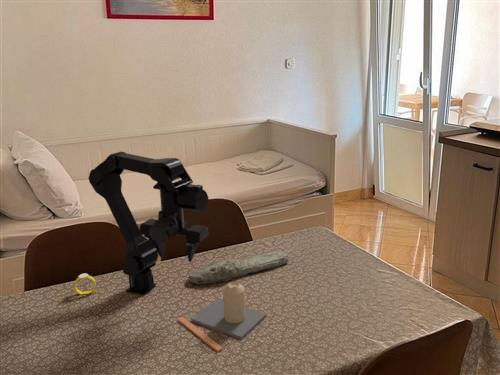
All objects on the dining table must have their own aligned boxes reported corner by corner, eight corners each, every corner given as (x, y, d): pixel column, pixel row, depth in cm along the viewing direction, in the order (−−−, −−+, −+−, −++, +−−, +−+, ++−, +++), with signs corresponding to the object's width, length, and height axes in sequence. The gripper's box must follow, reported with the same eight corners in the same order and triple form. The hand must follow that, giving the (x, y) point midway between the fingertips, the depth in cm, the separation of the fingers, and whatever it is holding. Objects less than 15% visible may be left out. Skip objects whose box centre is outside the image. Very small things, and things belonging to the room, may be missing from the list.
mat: (191, 321, 126) (190, 318, 126) (217, 300, 136) (217, 298, 135) (241, 339, 118) (241, 336, 117) (266, 316, 127) (266, 314, 127)
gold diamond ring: (75, 297, 140) (71, 279, 138) (76, 293, 142) (72, 275, 140) (97, 293, 141) (93, 275, 139) (97, 289, 143) (93, 271, 142)
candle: (248, 321, 124) (247, 287, 121) (227, 325, 122) (226, 290, 119) (241, 310, 129) (240, 277, 126) (221, 314, 127) (220, 281, 124)
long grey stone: (295, 269, 157) (279, 259, 166) (295, 254, 156) (280, 245, 165) (195, 290, 141) (184, 278, 150) (195, 273, 140) (183, 262, 149)
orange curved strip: (177, 320, 126) (177, 318, 126) (182, 318, 127) (182, 316, 127) (217, 352, 113) (217, 350, 113) (222, 349, 114) (222, 347, 114)
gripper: (124, 211, 124) (130, 265, 129) (187, 219, 117) (191, 277, 122) (148, 198, 134) (153, 249, 139) (208, 205, 127) (210, 259, 132)
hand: (175, 258), depth 133 cm, fingers open, 9 cm apart
